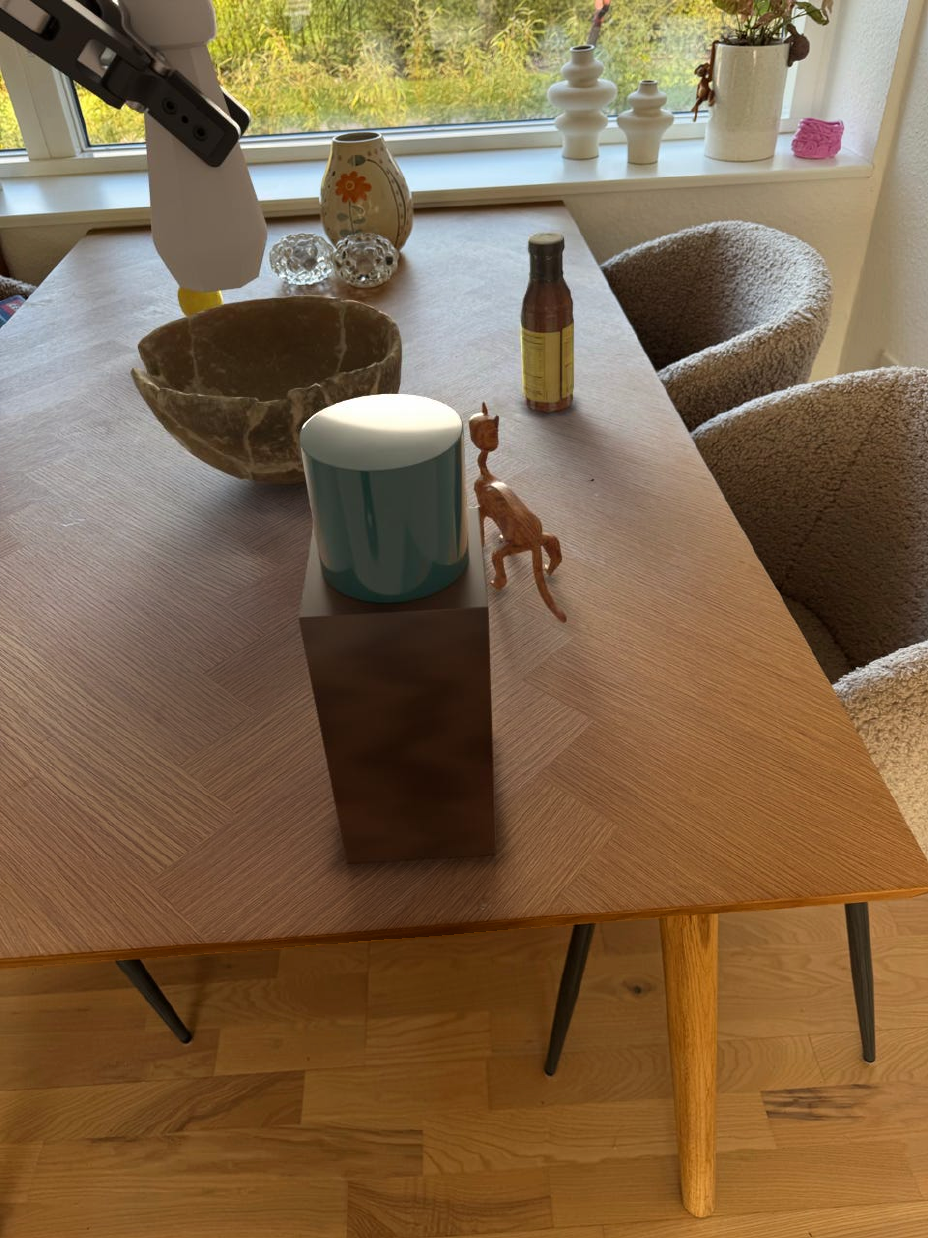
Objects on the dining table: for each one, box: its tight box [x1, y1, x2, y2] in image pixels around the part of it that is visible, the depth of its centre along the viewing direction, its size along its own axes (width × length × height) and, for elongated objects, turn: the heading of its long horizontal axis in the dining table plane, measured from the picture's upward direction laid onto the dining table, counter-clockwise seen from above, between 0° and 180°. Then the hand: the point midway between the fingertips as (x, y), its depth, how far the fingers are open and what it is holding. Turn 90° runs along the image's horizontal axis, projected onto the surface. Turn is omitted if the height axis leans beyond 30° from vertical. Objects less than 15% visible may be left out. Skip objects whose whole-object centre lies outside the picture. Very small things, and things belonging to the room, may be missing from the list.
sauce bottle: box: [519, 231, 575, 414], centre depth 107 cm, size 6×6×20 cm
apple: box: [177, 285, 224, 317], centre depth 135 cm, size 6×6×8 cm
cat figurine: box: [468, 401, 568, 623], centre depth 81 cm, size 18×7×14 cm, turn 24°
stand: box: [297, 506, 497, 864], centre depth 59 cm, size 10×10×21 cm
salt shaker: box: [122, 0, 268, 293], centre depth 45 cm, size 6×6×13 cm
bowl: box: [130, 294, 403, 485], centre depth 99 cm, size 28×27×15 cm
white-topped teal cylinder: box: [299, 393, 469, 603], centre depth 51 cm, size 11×8×8 cm
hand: (234, 142), depth 45 cm, fingers closed on salt shaker, 3 cm apart
